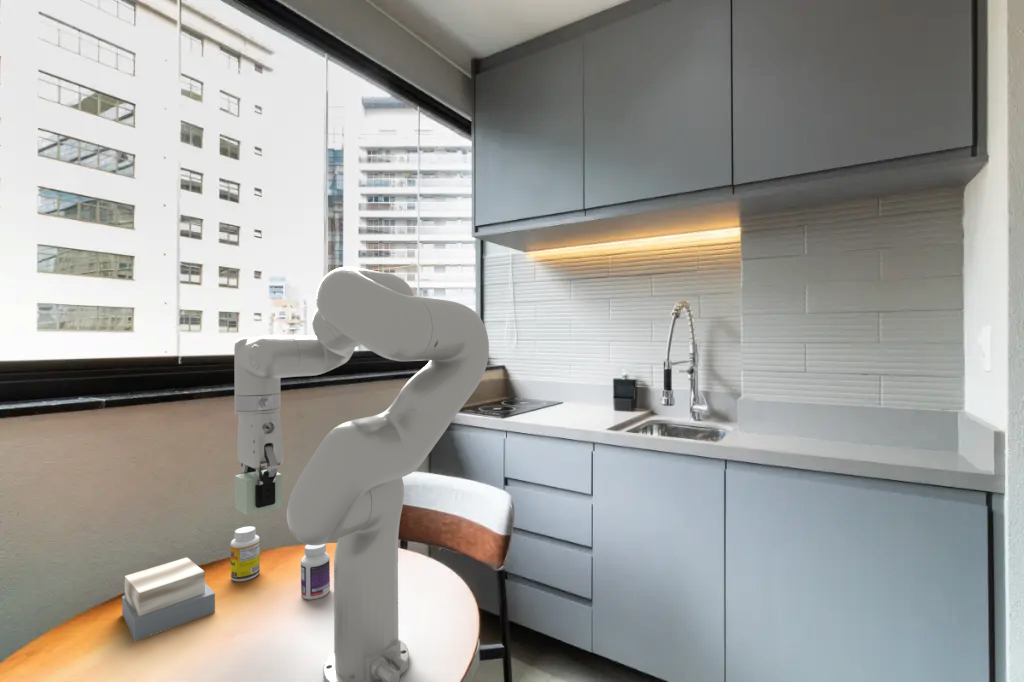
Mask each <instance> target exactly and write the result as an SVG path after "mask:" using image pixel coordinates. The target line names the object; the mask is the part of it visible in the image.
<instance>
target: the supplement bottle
mask: <svg viewBox="0 0 1024 682" xmlns="http://www.w3.org/2000/svg"><path fill="white" fill-rule="evenodd" d="M260 544H261V541H260V536H259V535H258V534H256V526H250V525H249V526H242V527H239V528H237V529H235V530H234V538H233V539H232V540H231V541H230V579H231V580H232V581H233V582H234V581H235V582H239V583H241V582H246V581H250V580H252V579H254V578H256V577H257V576H258V575H259V574H260V571H261V565H260V564H261V560H260V559H261V558H260V557H261V556H260V554H261V552H260V551H261V545H260Z"/></svg>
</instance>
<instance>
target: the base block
mask: <svg viewBox="0 0 1024 682" xmlns="http://www.w3.org/2000/svg"><path fill="white" fill-rule="evenodd" d="M121 598H122V599H121V603H122V605H121V613H122V614H121V615H122V617H124V618H123V619H125V620H124V622H125V621H126V622H125V624H126V623H127V624H126V625H128V626H127V628H128V627H129V628H128V630H129V629H130V630H129V632H130V634H131V636H132V638H133V640H134V641H135V640H137V639H140V640H142V639H145V638H147V637H146V636H148V637H150V636H152V635H151V634H153V635H155V634H154V633H156V634H158V633H157V632H159V633H161V632H164V631H166V630H165V629H167V630H169V629H168V628H170V629H172V628H174V626H175V627H177V625H178V626H181V625H183V624H186V623H188V622H187V621H189V622H191V621H190V620H192V621H193V619H194V620H197V619H199V617H200V618H202V617H205V616H208V615H211V614H213V613H215V612H216V593H215V592H214V591H213V589H212V588H211V587H210V586H209V585H208V584H207V583H206V582H205V593H203V594H200V595H197V596H195V597H192V598H189V599H186V600H183V601H181V602H178V603H175V604H172V605H169V606H167V607H164V608H161V609H158V610H156V611H153V612H150V613H147V614H144V615H142V616H139V615H138V614H137V613H136V611H135V610H134V609H133V608H132V606H131V605H130V604H129V602H128V601H127V600H126V599H125V595H122V596H121ZM210 613H211V614H210ZM207 614H208V615H207ZM204 615H205V616H204ZM196 618H197V619H196ZM185 622H186V623H185ZM180 624H181V625H180ZM171 627H172V628H171ZM163 630H164V631H163ZM160 631H161V632H160ZM149 635H150V636H149ZM144 637H145V638H144ZM141 638H142V639H141ZM137 641H138V640H137Z"/></svg>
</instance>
